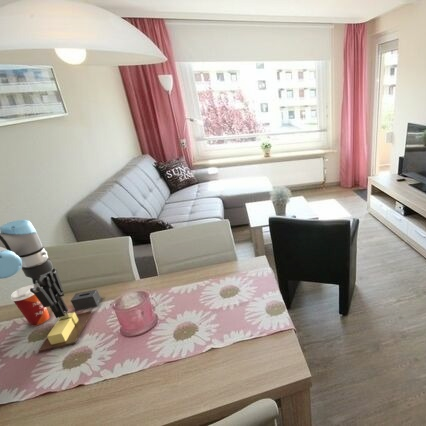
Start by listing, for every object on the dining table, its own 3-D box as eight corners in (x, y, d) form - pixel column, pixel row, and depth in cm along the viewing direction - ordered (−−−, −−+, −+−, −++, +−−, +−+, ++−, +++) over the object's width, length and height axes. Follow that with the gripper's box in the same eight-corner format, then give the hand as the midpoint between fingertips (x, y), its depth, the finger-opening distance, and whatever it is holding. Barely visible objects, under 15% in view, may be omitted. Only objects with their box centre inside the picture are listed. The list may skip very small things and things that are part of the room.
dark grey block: (75, 310, 124) (70, 300, 122) (80, 303, 128) (75, 293, 126) (97, 306, 126) (92, 296, 124) (101, 298, 130) (96, 289, 128)
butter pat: (62, 327, 114) (58, 319, 113) (65, 322, 116) (61, 314, 115) (76, 324, 115) (72, 316, 114) (78, 319, 118) (74, 312, 116)
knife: (63, 328, 113) (46, 297, 107) (65, 325, 115) (49, 294, 108) (71, 326, 114) (55, 295, 108) (73, 323, 115) (58, 292, 109)
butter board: (39, 352, 105) (38, 350, 104) (61, 319, 119) (60, 317, 119) (75, 344, 108) (74, 342, 107) (92, 312, 122) (91, 311, 122)
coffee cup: (50, 322, 118) (34, 293, 112) (24, 331, 114) (5, 300, 108) (55, 310, 125) (40, 281, 119) (30, 317, 121) (13, 288, 115)
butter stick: (51, 344, 106) (46, 336, 105) (61, 329, 113) (57, 321, 112) (65, 341, 108) (61, 333, 106) (75, 325, 115) (71, 318, 113)
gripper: (36, 271, 97) (65, 325, 106) (58, 249, 110) (81, 299, 119) (8, 276, 95) (40, 330, 104) (33, 253, 108) (59, 303, 117)
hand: (62, 314), depth 112 cm, fingers closed on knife, 2 cm apart
